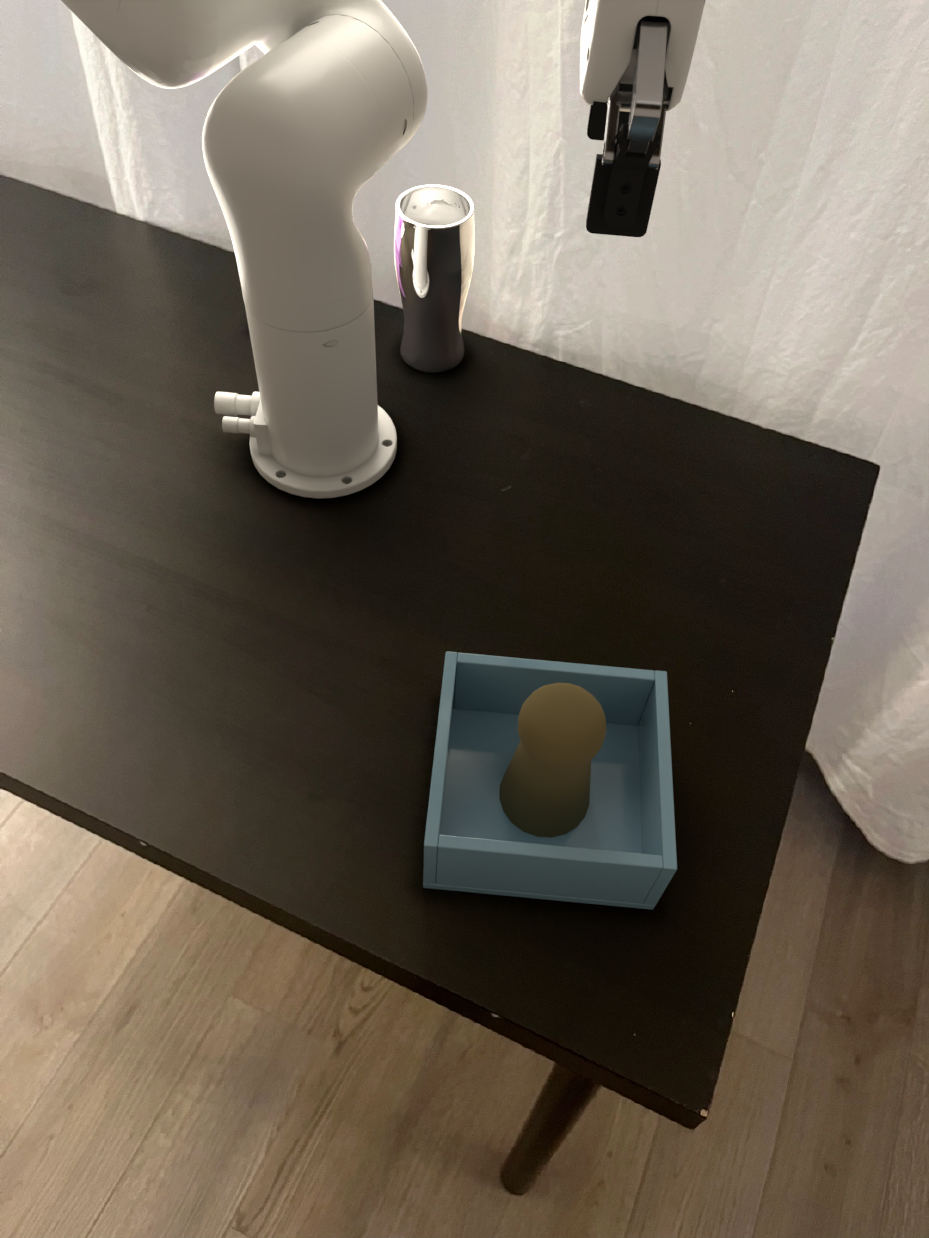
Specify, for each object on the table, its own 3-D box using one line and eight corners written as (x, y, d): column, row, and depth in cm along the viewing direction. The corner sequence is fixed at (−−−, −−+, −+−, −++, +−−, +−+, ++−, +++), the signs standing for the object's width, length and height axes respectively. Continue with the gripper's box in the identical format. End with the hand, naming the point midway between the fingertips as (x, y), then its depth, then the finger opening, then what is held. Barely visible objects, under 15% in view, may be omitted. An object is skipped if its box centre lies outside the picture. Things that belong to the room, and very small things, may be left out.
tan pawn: (583, 846, 62) (612, 767, 53) (491, 827, 62) (504, 745, 53) (594, 764, 65) (623, 677, 56) (507, 746, 66) (522, 657, 57)
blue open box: (422, 888, 60) (423, 845, 55) (442, 704, 68) (445, 650, 63) (653, 910, 60) (677, 869, 55) (646, 722, 68) (667, 671, 63)
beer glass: (443, 386, 88) (447, 239, 76) (381, 358, 90) (376, 210, 78) (482, 347, 92) (492, 200, 80) (422, 321, 94) (423, 174, 82)
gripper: (594, -269, 45) (551, 103, 59) (593, -148, 35) (542, 268, 49) (753, -256, 45) (673, 113, 59) (799, -131, 35) (689, 281, 48)
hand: (614, 183), depth 54 cm, fingers open, 9 cm apart
